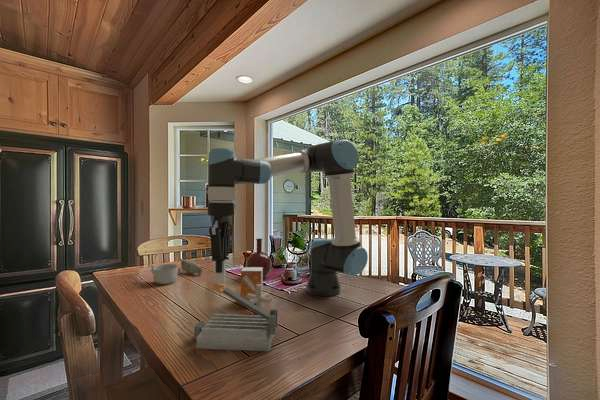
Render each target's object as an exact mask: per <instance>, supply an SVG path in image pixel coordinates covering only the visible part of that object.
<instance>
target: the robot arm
mask: <svg viewBox="0 0 600 400" xmlns="http://www.w3.org/2000/svg"><path fill="white" fill-rule="evenodd" d="M207 159H208V160H207V161H208V162H207V167H208V169H207V173H208V177H207V178H208V179H207V180H208V183H207V185H208V188H207V190H206V193H207V200H208V201H209V202H208V203H207V215H208V216H209V217H211V216H212V217H213V219H212V224H211V227H209V229H208V231H209V236H210V246H211V248H210V251H211V262H214V284H225V283H226V282H227V281H226V276H227V275H226V271H227V269H226V267H227V261H228V260H229V259H230V256H229V252H230V251H229V250H230V238H231V229H232V224H231V223H230V221H229V217H230V216H231V217H232V216H234V215H235V203H233V202H234V201H235V197H236V196H235V195H236V194H235V192H236V188H235V187H236V185H247V184H254V185H255V184H257V185H260V184H261V185H262V184H263V185H265V184H267V183H269V181H270V179H271V178H273V177H277V176H282V175H283V176H284V175H286V174H291V173H297V172H298V173H308V172H309V173H315V172H323V175H324V178H326V179H327V180H328V185H329V192H330V193H329V195H330V206H331V216H332V223H333V234H334V238H325V239H324V238H322V239H315V240H313V241H311V244H310V245H311V246H310V274H309V277H308V281H307V284H306V292H307V293H308V294H310V295H314V296H321V297H322V296H323V297H325V296H326V297H328V296H329V297H331V296H332V297H333V296H335V295H338V294H340V293H341V290H342V289H341V283H340V281H339V280H340V279H339V276H338V273H342V274H345V275H346V276H347V275H348V276H358V275H360V274H361V273H362V272H364V270H365V268H366V266H367V263H368V258H369V256H368V255H369V254H368V251H367V250H366V249H365V247H363V246H361V240H360V239H359V238H358V237H357V236H356V225H355V223H356V222H355V216H354V215H355V214H354V203H353V193H352V183H351V177H352V176H353V175H354V172H355V171H354V169H355V168H356V167H357V166H358V163H359V152H358V149H357V147H356V146H355V144H354V143H353V142H352V141H350V140H348V139H337V140H332V141H328V142H323V143H318V144H314V145H312V146H309V147H305V148H302V149H297V150H296V151H295V152H293V153H292V152H291V153H286V154H281V155H280V154H279V155H273V156H268V157H266V156H265V157H261V158H255V159H253V158H252V159H251V158H242V157H241V158H240V157H238V156H236V151H235V150H234V149H233V148H232V149H230V148H227V147H215V148H212V149H210V150H209V152H208V158H207ZM228 256H229V257H228ZM226 260H227V261H226Z"/></svg>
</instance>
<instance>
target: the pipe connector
mask: <svg viewBox="0 0 600 400" xmlns="http://www.w3.org/2000/svg"><path fill="white" fill-rule="evenodd" d="M261 291H262V292H263V288H262V285H261V284H257V285H256V295H254V294H250V293H248V294H247V298H248V299H250V300H248V301H249V302H251V303H253V304H254V305H256V306H257V307H259V308H261V309H262V303H265V304H271V303H272V298H271V297H270V293H269V292H268V291H267V292H265V293H262V295H261ZM269 297H270V298H269ZM255 303H256V304H255Z"/></svg>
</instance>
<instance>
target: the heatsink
mask: <svg viewBox="0 0 600 400" xmlns="http://www.w3.org/2000/svg"><path fill="white" fill-rule="evenodd" d="M269 311H270V313H269V314H270V315H268V320H267V319H265V318H263V317H262V316H260V315H258V314H257V315H255V314H253V315H252V314H230V313H229V314H226V313H225V314H224V313H223V314H222V313H214V314H213V316H211V317H210V320H208V321H207V323H206V321H205V320H204V321H203V320H199V322H198V323H196V325H195V326H194V329H193V333H194V336H193V338H194V340H193V341H194V342H196V345H195V346H196V347H195V348H196V349H202V350H203V349H204V350H231V351H252V352H253V351H255V352H256V351H257V352H270V350H271V347H272V344H273V341H274V337H275V335H276V328H278V319H279V318H278V315H279V313H278V309H277V308H271V309H270V310H269Z"/></svg>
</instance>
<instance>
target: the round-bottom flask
mask: <svg viewBox="0 0 600 400" xmlns="http://www.w3.org/2000/svg"><path fill="white" fill-rule="evenodd" d="M255 240H256V251H255V252H253V253H251V254H250V255H249V256H248V257H247V260H246V263H245V267H263V278H264V277H266V276H267V275H268V274H269V273H270V272H271V270H272V268H273V267H272V265H273V262H272V259H271V258H270V256H269V255H268V254H267V253H265V252H264V251H262V249H263V247H262V246H263V245H262V243H263V238H256V239H255Z"/></svg>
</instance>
